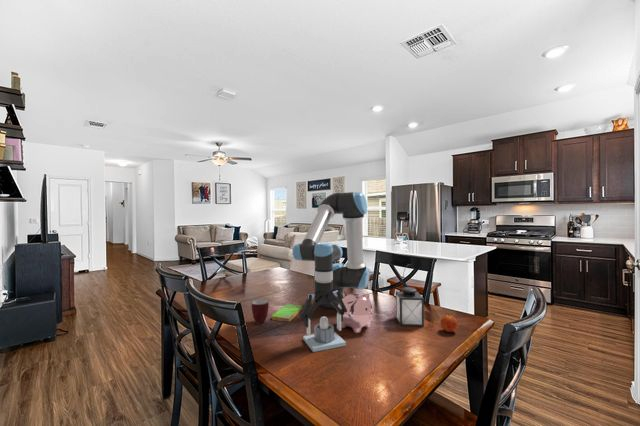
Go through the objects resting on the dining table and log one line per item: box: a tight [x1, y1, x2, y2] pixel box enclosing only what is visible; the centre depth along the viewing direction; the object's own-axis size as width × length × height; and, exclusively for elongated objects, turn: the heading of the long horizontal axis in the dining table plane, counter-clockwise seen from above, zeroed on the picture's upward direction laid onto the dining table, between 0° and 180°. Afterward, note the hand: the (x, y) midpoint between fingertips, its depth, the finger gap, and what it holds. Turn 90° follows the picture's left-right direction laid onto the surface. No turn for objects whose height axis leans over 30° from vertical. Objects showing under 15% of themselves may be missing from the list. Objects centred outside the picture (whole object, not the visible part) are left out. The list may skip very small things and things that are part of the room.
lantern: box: [395, 264, 425, 327], centre depth 143 cm, size 11×11×28 cm
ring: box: [313, 322, 335, 343], centre depth 121 cm, size 8×8×5 cm
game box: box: [271, 303, 304, 323], centre depth 155 cm, size 3×10×20 cm
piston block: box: [302, 316, 347, 353], centre depth 121 cm, size 14×12×10 cm
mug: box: [251, 299, 269, 325], centre depth 142 cm, size 11×8×10 cm
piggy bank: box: [337, 292, 375, 334], centre depth 137 cm, size 15×18×16 cm
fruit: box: [440, 313, 458, 333], centre depth 131 cm, size 7×7×8 cm
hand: (324, 332), depth 121 cm, fingers open, 13 cm apart
